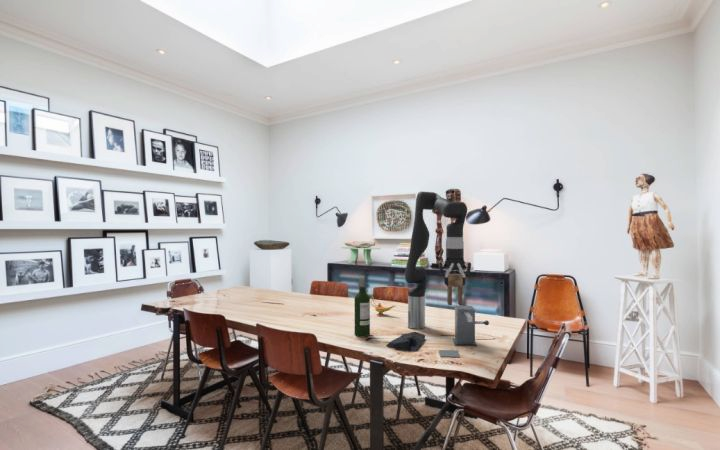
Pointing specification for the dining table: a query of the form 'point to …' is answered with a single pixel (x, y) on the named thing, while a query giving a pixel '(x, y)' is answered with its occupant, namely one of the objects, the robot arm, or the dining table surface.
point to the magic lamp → (381, 308)
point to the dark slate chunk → (407, 342)
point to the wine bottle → (362, 311)
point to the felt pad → (449, 353)
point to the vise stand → (465, 326)
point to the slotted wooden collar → (455, 281)
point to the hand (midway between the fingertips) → (454, 285)
